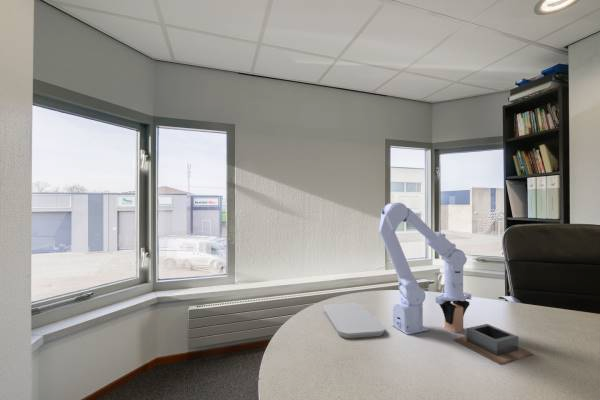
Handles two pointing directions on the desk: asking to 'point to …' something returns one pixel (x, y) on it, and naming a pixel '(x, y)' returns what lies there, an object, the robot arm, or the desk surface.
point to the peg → (456, 320)
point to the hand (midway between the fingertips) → (453, 322)
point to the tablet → (353, 320)
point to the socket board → (493, 343)
